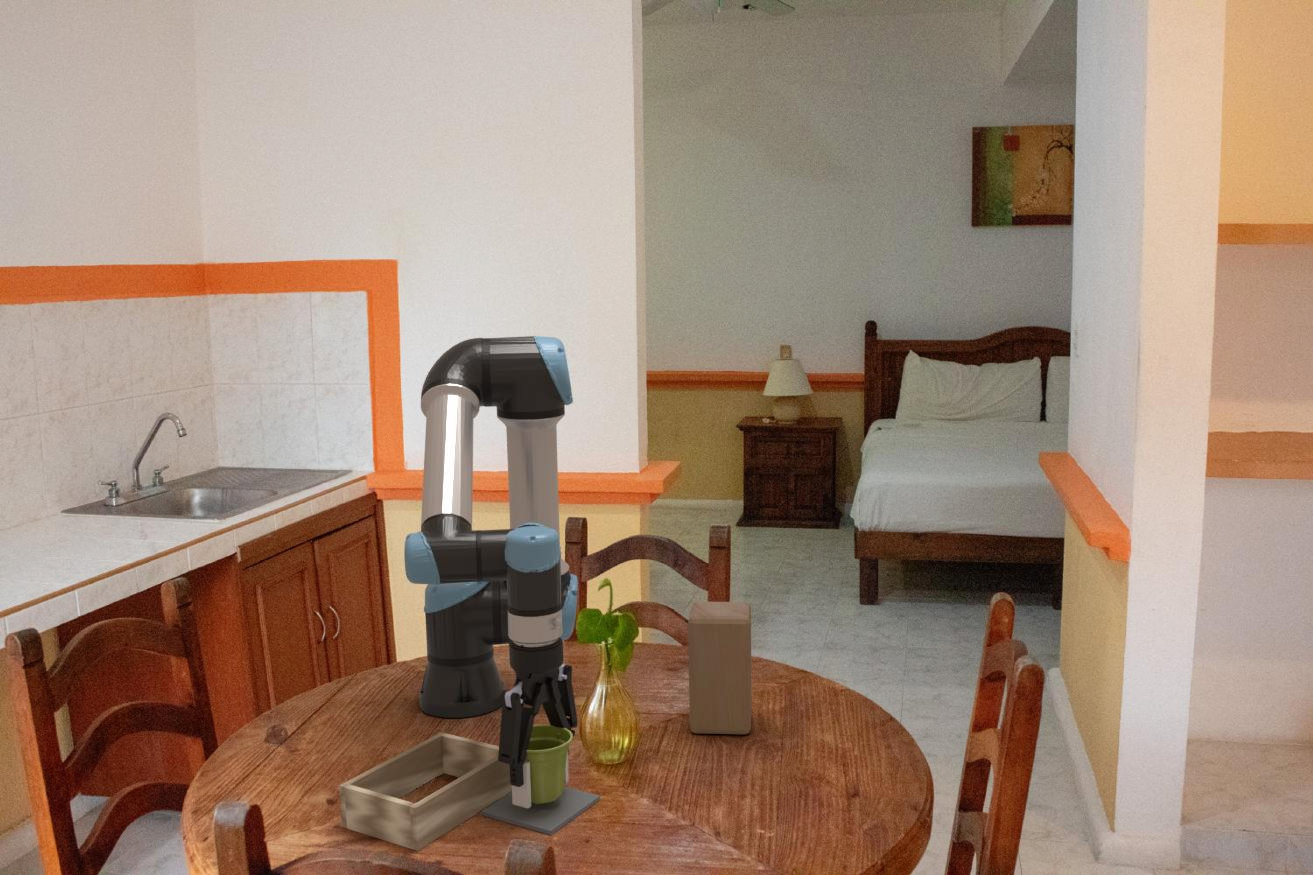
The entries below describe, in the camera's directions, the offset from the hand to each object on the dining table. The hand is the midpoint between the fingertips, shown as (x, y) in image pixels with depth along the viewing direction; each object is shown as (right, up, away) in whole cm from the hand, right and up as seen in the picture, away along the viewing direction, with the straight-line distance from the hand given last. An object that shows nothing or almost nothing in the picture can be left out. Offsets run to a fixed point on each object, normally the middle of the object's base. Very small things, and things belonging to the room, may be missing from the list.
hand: (541, 792), depth 163 cm
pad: (0, -2, 0) cm, 2 cm away
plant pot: (0, -1, 0) cm, 1 cm away
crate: (-16, -2, +1) cm, 16 cm away
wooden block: (+27, +2, +29) cm, 40 cm away
